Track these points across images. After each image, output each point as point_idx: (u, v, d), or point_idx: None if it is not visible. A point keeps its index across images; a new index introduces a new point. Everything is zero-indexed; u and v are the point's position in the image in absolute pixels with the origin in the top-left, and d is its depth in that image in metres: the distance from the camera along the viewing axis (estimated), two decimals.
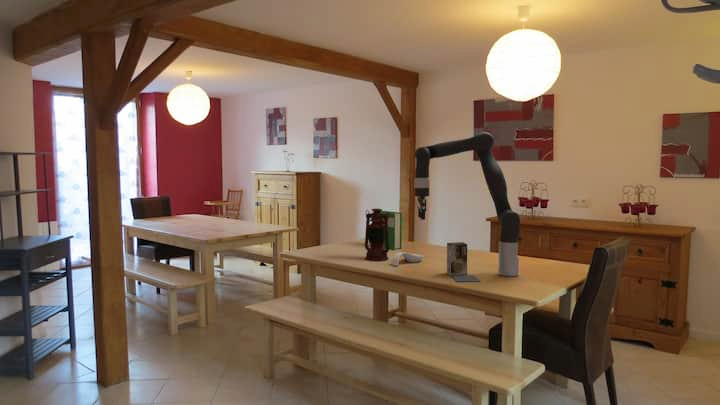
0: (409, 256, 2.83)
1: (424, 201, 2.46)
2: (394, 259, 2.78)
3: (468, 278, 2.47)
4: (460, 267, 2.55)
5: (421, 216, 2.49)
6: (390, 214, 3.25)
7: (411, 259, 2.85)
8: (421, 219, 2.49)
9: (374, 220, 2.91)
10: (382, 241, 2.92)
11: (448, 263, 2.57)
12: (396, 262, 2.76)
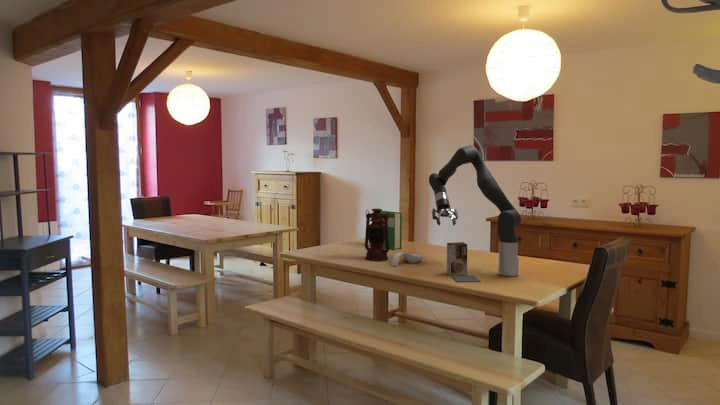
0: (409, 256, 2.83)
1: (432, 210, 2.82)
2: (394, 259, 2.78)
3: (468, 278, 2.47)
4: (460, 267, 2.55)
5: None
6: (390, 214, 3.25)
7: (411, 259, 2.84)
8: None
9: (374, 220, 2.91)
10: (382, 241, 2.92)
11: (448, 263, 2.57)
12: (396, 262, 2.76)
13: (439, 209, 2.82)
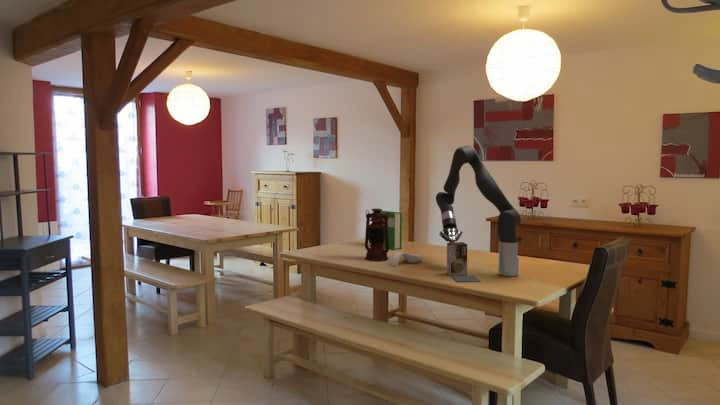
0: (409, 256, 2.82)
1: (440, 234, 2.72)
2: (393, 259, 2.77)
3: (468, 278, 2.47)
4: (460, 267, 2.55)
5: None
6: (390, 214, 3.25)
7: (411, 259, 2.84)
8: None
9: (374, 220, 2.91)
10: (382, 241, 2.92)
11: (448, 263, 2.57)
12: (395, 262, 2.76)
13: (445, 229, 2.73)
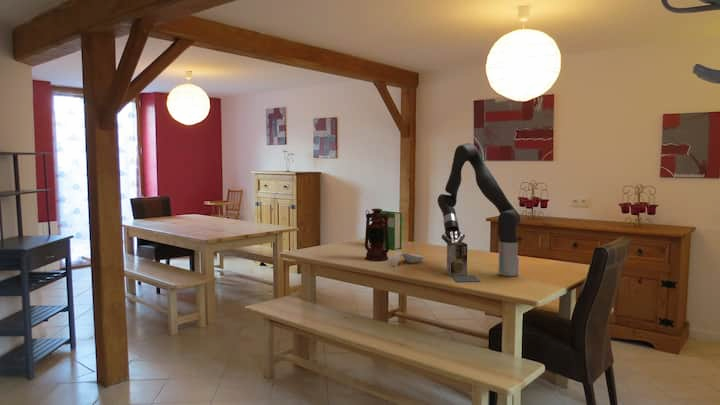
0: (408, 256, 2.82)
1: (442, 237, 2.66)
2: (393, 259, 2.77)
3: (468, 278, 2.47)
4: (460, 267, 2.55)
5: None
6: (390, 214, 3.25)
7: (411, 259, 2.84)
8: None
9: (374, 220, 2.91)
10: (382, 241, 2.92)
11: (448, 263, 2.57)
12: (395, 262, 2.76)
13: (447, 232, 2.68)
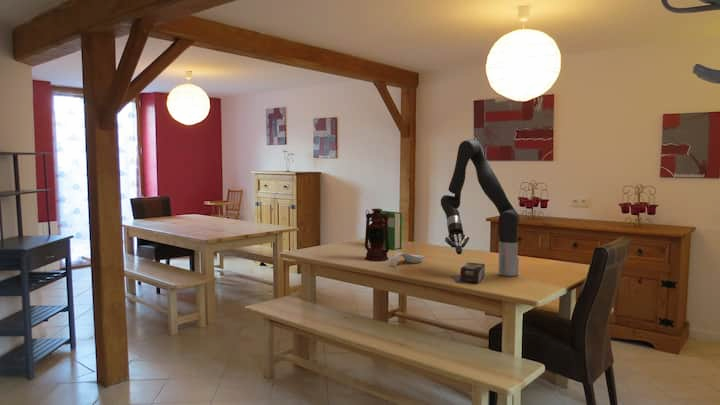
0: (408, 257, 2.82)
1: (446, 240, 2.57)
2: (392, 259, 2.77)
3: None
4: None
5: None
6: (390, 214, 3.25)
7: (410, 260, 2.83)
8: None
9: (374, 220, 2.91)
10: (382, 241, 2.92)
11: None
12: (394, 262, 2.75)
13: (451, 234, 2.58)
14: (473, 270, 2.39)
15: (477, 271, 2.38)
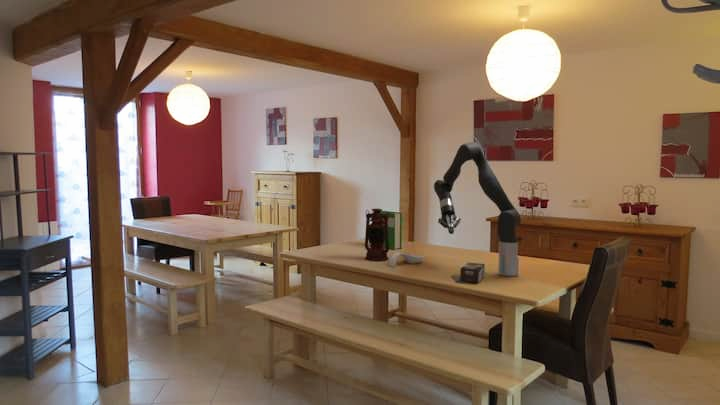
0: (408, 257, 2.81)
1: (439, 221, 2.74)
2: (391, 259, 2.77)
3: None
4: None
5: None
6: (390, 214, 3.25)
7: (410, 260, 2.82)
8: (450, 233, 2.70)
9: (374, 220, 2.91)
10: (382, 241, 2.92)
11: None
12: (393, 262, 2.75)
13: (443, 216, 2.76)
14: (473, 270, 2.39)
15: (477, 271, 2.38)
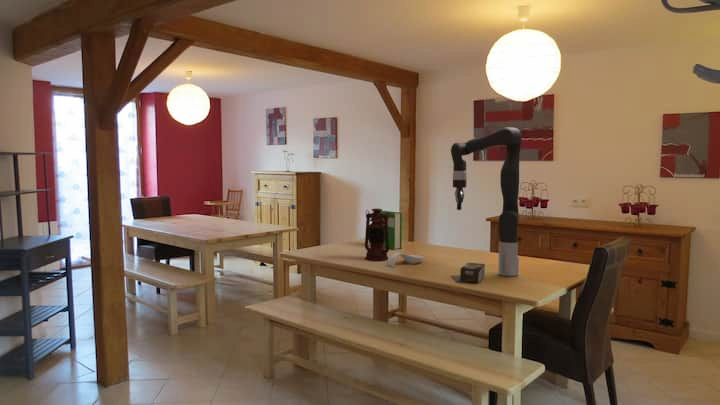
0: (407, 257, 2.81)
1: (462, 196, 2.73)
2: (390, 260, 2.77)
3: None
4: None
5: (458, 207, 2.78)
6: (390, 214, 3.25)
7: (409, 260, 2.82)
8: (457, 209, 2.78)
9: (374, 220, 2.91)
10: (382, 241, 2.92)
11: None
12: (392, 263, 2.75)
13: None
14: (473, 270, 2.39)
15: (477, 271, 2.38)
